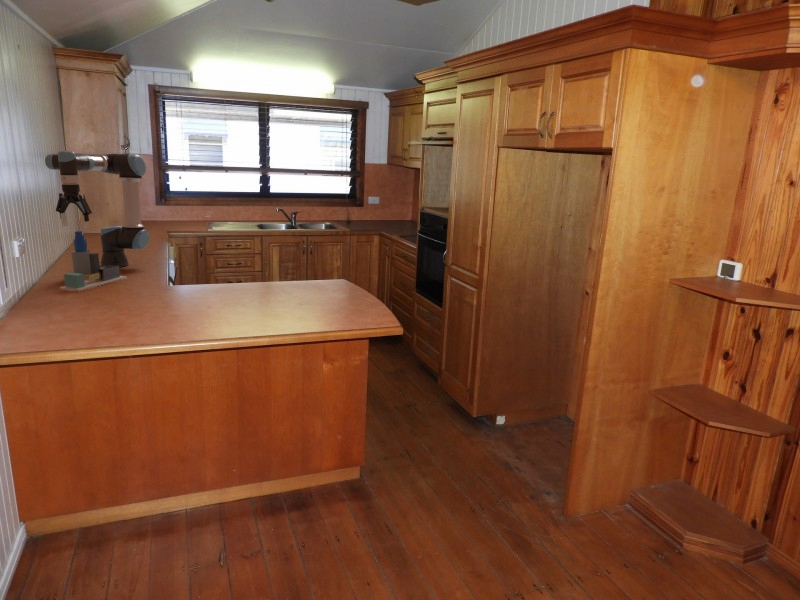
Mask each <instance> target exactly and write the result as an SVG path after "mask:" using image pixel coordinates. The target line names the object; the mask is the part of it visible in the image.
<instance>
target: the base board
mask: <svg viewBox="0 0 800 600" xmlns="http://www.w3.org/2000/svg"><path fill="white" fill-rule="evenodd" d="M124 279H125V280H127V279H128V276H126V275H120V277H117V278H113V279H110V280H106V281H100V280H91V281H85V280H84V281H85V287H82V288H70V287H65V285H63V286H60V287H59V290H60V289H62V290H61V291H68V290H69V292H70V291H71V292H76V291H79V292H78V293H80V291H81V292H84V291H83V290H85V291H87V290H86V289H88V290H90V289H89V288H92V289H94V288H93V287H96V288H98V287H97V286H99V287H102V286H101V285H103V286H105V285H104V284H107V283H110V284H113V283H112V282H114V283H116V282H115V281H117V282H120V281H119V280H121V281H124ZM107 285H108V284H107Z"/></svg>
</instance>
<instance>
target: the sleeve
mask: <svg viewBox="0 0 800 600" xmlns="http://www.w3.org/2000/svg"><path fill="white" fill-rule="evenodd" d="M100 271H102V278H99V279H95V280H100V281H106V280H110V279H113V278H117V277H120V276H121V274H120V273H121V272H120V267H119V266H116V265H107V266H103V267H101V266H100Z"/></svg>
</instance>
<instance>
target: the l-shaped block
mask: <svg viewBox="0 0 800 600" xmlns="http://www.w3.org/2000/svg"><path fill="white" fill-rule="evenodd" d="M99 257H100V256H99V252H91V253H90V254H89V259H90V268H91V273H89V274H85V275H84V281H91V280H95V279H99V278H102V271H100V267H101V266H100V258H99Z"/></svg>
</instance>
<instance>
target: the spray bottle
mask: <svg viewBox="0 0 800 600" xmlns="http://www.w3.org/2000/svg"><path fill="white" fill-rule="evenodd" d="M87 242H88V241H87V239H86V238H85V235H84V231H83V230H77V231H74V239H73V248H74V250H72V251H71V258H72V266H73V273H80V274H84V275H85V274H89V273H91V268H90V259H89V254H90V253H92V252H91V250H90V249H88V244H87Z"/></svg>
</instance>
